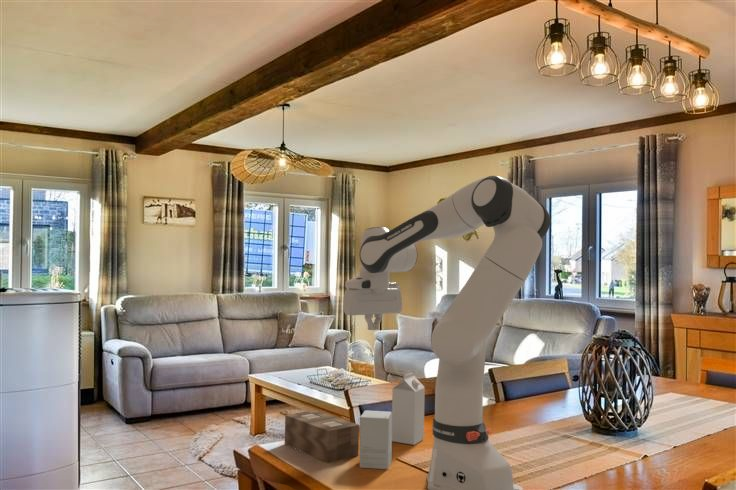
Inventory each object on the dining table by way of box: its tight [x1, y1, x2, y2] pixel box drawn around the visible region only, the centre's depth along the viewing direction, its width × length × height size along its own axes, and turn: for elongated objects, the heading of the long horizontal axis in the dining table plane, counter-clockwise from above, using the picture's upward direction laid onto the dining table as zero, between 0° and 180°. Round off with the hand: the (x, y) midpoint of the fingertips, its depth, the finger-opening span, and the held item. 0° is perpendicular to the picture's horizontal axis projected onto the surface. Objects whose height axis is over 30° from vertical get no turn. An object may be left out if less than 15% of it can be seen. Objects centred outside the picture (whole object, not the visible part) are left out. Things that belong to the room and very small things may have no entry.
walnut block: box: [284, 409, 360, 464], centre depth 165 cm, size 20×10×8 cm, turn 40°
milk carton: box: [391, 372, 426, 446], centre depth 176 cm, size 7×7×19 cm
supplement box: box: [359, 409, 393, 470], centre depth 154 cm, size 7×7×13 cm
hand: (373, 329), depth 179 cm, fingers closed
